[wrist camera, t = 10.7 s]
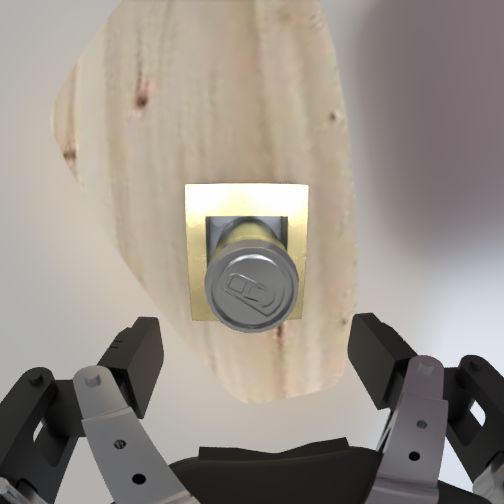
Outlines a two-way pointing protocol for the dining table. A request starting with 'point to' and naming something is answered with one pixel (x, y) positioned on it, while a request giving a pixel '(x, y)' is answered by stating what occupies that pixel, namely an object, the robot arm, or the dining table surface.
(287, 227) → the socket block
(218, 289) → the beer can
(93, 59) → the dining table surface
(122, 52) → the dining table surface
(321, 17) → the dining table surface
